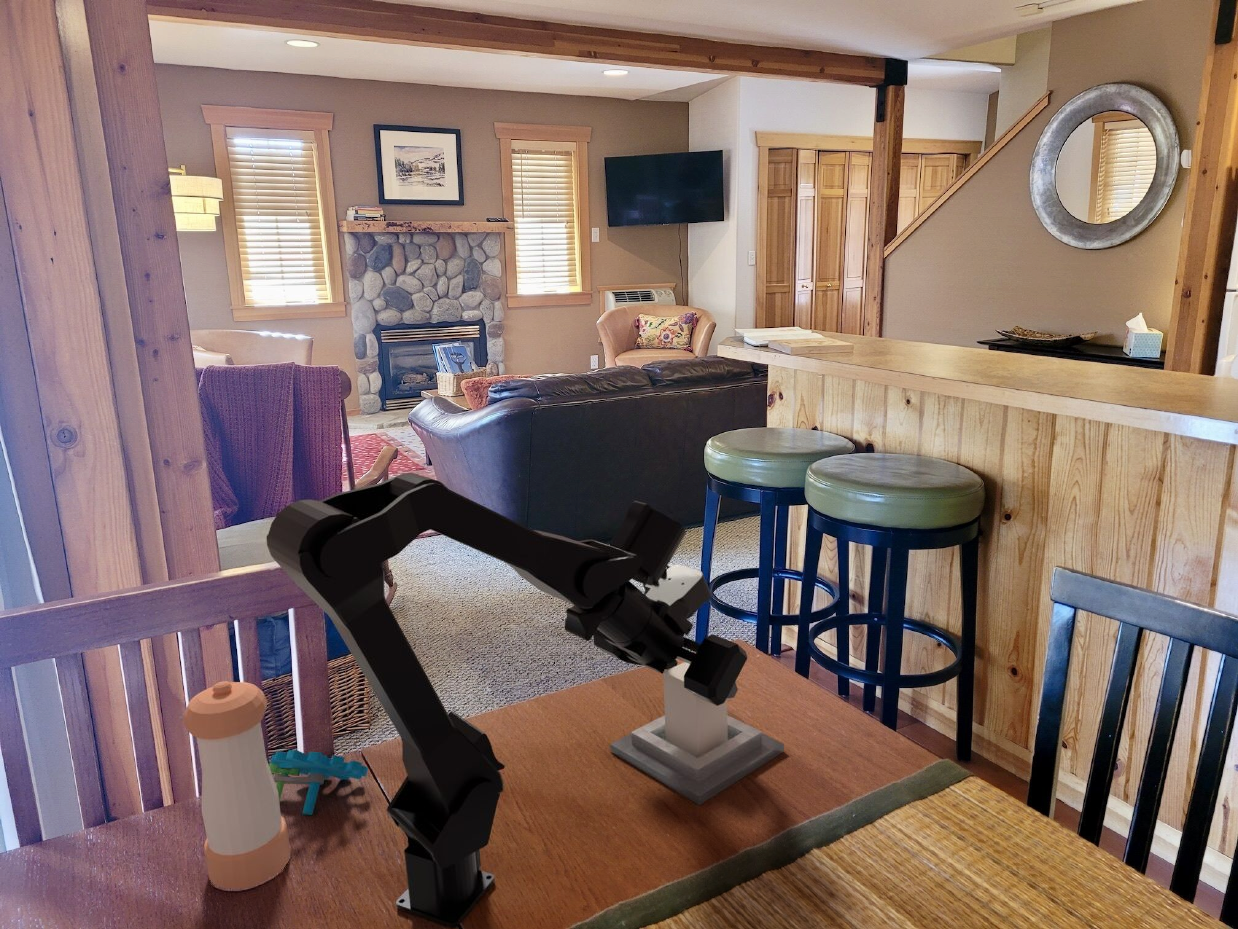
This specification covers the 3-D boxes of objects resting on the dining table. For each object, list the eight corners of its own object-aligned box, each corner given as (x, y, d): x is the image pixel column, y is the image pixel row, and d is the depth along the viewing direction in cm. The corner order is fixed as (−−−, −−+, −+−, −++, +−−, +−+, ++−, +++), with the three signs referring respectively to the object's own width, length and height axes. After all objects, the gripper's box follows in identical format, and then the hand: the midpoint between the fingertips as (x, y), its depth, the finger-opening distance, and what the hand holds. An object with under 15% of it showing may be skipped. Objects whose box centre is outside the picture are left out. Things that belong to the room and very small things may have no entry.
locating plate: (699, 805, 89) (698, 783, 88) (610, 751, 99) (609, 732, 98) (784, 751, 98) (784, 731, 97) (694, 707, 108) (694, 689, 107)
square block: (697, 761, 95) (695, 687, 93) (665, 744, 98) (663, 672, 96) (727, 744, 98) (726, 671, 96) (695, 727, 102) (694, 657, 99)
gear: (387, 767, 95) (333, 744, 87) (374, 825, 92) (317, 805, 84) (305, 766, 98) (246, 743, 91) (290, 821, 95) (227, 802, 87)
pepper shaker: (291, 878, 80) (264, 692, 76) (206, 902, 78) (172, 710, 73) (290, 833, 87) (264, 658, 83) (211, 852, 84) (180, 674, 80)
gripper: (734, 572, 83) (802, 641, 93) (608, 532, 97) (679, 596, 106) (678, 673, 80) (755, 735, 90) (556, 617, 94) (634, 676, 103)
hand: (703, 679), depth 97 cm, fingers open, 9 cm apart
